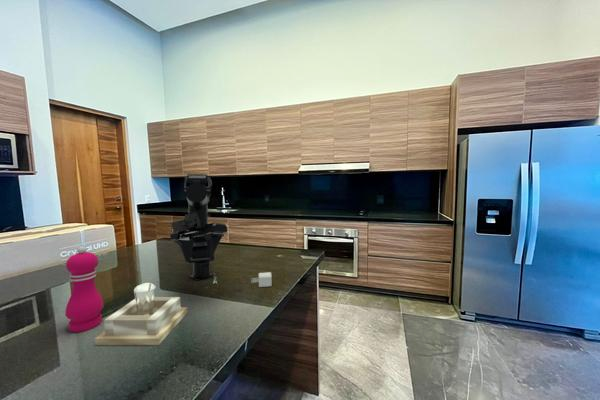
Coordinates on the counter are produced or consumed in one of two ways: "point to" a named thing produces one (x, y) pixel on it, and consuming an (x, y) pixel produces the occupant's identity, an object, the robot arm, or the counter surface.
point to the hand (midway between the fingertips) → (198, 260)
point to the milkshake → (145, 298)
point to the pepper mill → (83, 292)
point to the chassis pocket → (142, 323)
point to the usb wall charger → (263, 279)
